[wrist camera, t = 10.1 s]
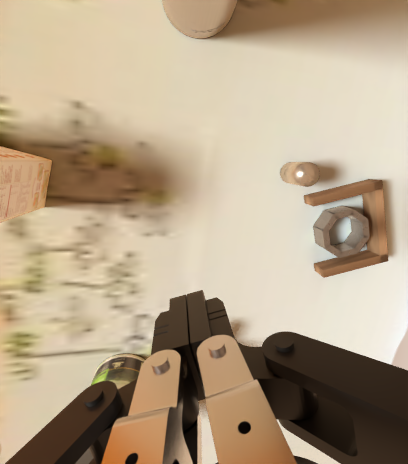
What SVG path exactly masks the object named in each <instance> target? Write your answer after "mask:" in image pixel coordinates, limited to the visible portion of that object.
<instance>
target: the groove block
mask: <svg viewBox="0 0 408 464" xmlns="http://www.w3.org/2000/svg"><path fill="white" fill-rule="evenodd" d="M361 194H362V197H363V208H364V216H365V217H366V218H368V223H369V235H370V237H369V239H368V240H367V250H364V251H360V252H358V253H357V254H353V255H349V256H345V257H341V258H340V257H337V258H333V259H330V260H326V261H322V262H318V263H314V268H315V271H316V272H317V273H319V274H320V275H321V276H322V277H324V278H325V277H329V276H332V275H336V274H340V273H344V272H348V271H352V270H355V269H359V268H363V267H367V266H371V265H375V264H378V263H382V262H386V261H388V251H387V237H386V224H385V211H384V197H383V184H382V180H371V179H367V180H364V181H360V182H356V183H352V184H348V185H344V186H340V187H336V188H332V189H328V190H324V191H320V192H316V193H312V194H308V195H304V200H305V203H306V204H309V205H312V206H317V205H321V204H325V203H329V202H333V201H337V200H341V199H345V198H349V197H353V196H357V195H361Z"/></svg>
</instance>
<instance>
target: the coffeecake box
mask: <svg viewBox="0 0 408 464" xmlns="http://www.w3.org/2000/svg"><path fill="white" fill-rule="evenodd" d="M51 165H52V160H49V159H46V158H43V157H39V156H35V155H32V154H28V153H24V152H20V151H17V150H13V149H9V148H5V147H1V146H0V223H1V222H3V221H6V220H9V219H12V218H15V217H17V216H20V215H23V214H26V213H29V212H32V211H34V210H37V209H40V208H44V207H45V202H46V195H47V188H48V182H49V177H50V171H51Z"/></svg>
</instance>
